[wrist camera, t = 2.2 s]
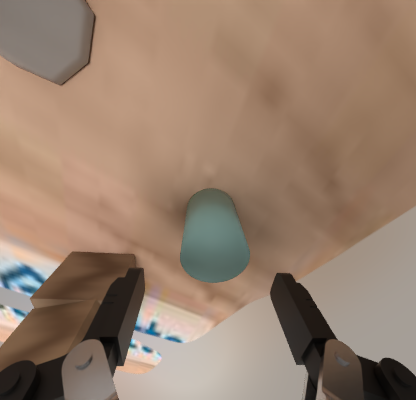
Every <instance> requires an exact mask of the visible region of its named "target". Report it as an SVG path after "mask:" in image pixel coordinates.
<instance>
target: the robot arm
mask: <svg viewBox="0 0 416 400" xmlns="http://www.w3.org/2000/svg"><path fill="white" fill-rule="evenodd" d="M144 291H145V281H144V269H143V268H129V269H128V271H127V273H126V276H125V277H118V278H117V279H116V280H115V281H114V282H113V283H112V284H111V285H110V287H109V289H108V291H107V293H106V296H105V297H104V299H103V301H102V304H101V305H100V307H99V309H98V311H97V313H96V315H95V317H94V319H93V321H92V323H91V325H90V327H89V329H88V331H87V333H86V335H85V337H84V338H83V340H82V341H81V342H80V343H79V344H78V345H77V346H75V347H74V348H73V349H72V350H71V351H70V352H69V353H67V354H65V355H64V356H61V357H59V358H56V359H53V360H50V361H47V362H44V363H41V364H38V365H35V364H34V362H32V361H30V360H22V361H18V362H16V363H13V364H11V365H10V366H8V367H6V368H5V369H3V370H2V371H1V372H0V400H119V398H118V395H117V392H116V389H115V385H114V382H113V376H114V373H115V369H116V366H124V362H125V359H126V355H127V352H128V348H129V345H130V342H131V338H132V335H133V331H134V328H135V324H136V321H137V317H138V314H139V311H140V307H141V304H142V300H143V297H144ZM270 296H271V300H272V303H273V306H274V308H275V311H276V313H277V316H278V318H279V321H280V324H281V326H282V329H283V331H284V334H285V337H286V339H287V342H288V344H289V347H290V349H291V352H292V355H293V357H294V360H295V362H296V365H305V367H306V369H307V372H306V377H305V382H304V389H303V396H302V400H416V376H415V375H414V374H413V373H412V372H411V371H410V370H409V369H408V368H406V367H405V366H404V365H402V364H401V363H399V362H398V361H396V360H394V359H391V358H383V359H382V360H381V361H380V362H379V363H377V362H374V361H372V360H368V359H366V358H363V357H360V356H358V355H356V354H355V353H354V352H353V351H352V349H350V348H349V347H348V346H347V345H346V344H344V343H343V342H341V341H338V340H337V338H336V337H335V335H334V333H333V332H332V330H331V329H330V327H329V325H328V324H327V322H326V320H325V319H324V317H323V315H322V314H321V312H320V310H319V309H318V308H317V305H316V304H315V302H314V301H313V299H312V297H311V296H310V294H309V293H308V291H307V290H306V289H305V288H304V287H303V286H302V285H301V284H300V283H296V281H295V279H294V278H293V276H292V275H291V274H290V273H277V274H276V276H275V279H274V282H273V284H272V287H271V291H270Z"/></svg>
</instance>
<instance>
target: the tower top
mask: <svg viewBox="0 0 416 400" xmlns="http://www.w3.org/2000/svg"><path fill="white" fill-rule="evenodd" d="M99 307H100V304H99V302H98V301H97V299H93V300H87V301H80V302H74V303H67V304H61V305H54V306H48V307H42V308H35V309H32V310H31V312H30V313H29V314H28V315H27V316H26V318H25V319H24V320H23V321H22V322H21V323H20V325H19V326H18V327H17V328H16V329H15V331H14V332H13V333H12V334H11V335H10V336H9V338H8V339H7V340H6V341H5V342H4V344H3V345H2V346H1V347H0V372H1V371H2V370H3V369H5V368H6V367H8V366H10V365H11V364H13V363H16V362H18V361H22V360H30V361H32V362H34V364H35V365H38V364H41V363H44V362H47V361H50V360H53V359H56V358H59V357H61V356H64V355H65V354H67V353H69V352H70V351H71V350H72V349H73V348H74V347H75V346H77V345H78V344H79V343H80V342H81V341H82V340H83V338H84V337H85V335H86V333H87V331H88V329H89V327H90V325H91V323H92V321H93V319H94V317H95V315H96V313H97V311H98V309H99Z"/></svg>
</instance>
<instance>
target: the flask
mask: <svg viewBox="0 0 416 400" xmlns="http://www.w3.org/2000/svg"><path fill="white" fill-rule="evenodd" d="M93 21H94V14H93V12H92V11H91V9H90V8H89V6H88V4H87V3H86V1H85V0H0V55H1V56H2V57H3V58H5V59H6V60H8V61H9V62H11V63H12V64H14V65H16V66H17V67H19V68H21V69H24V70H26V71H28V72H31V73H33V74H35V75H37V76H40V77H42V78H44V79H47V80H49V81H51V82H53V83H56V84H58V85H61V84H62V83H64V82H65V81H66V80H67V79H69V78H70V77H71V76H72V75H74V74H75V73H76V72H77V71H78V70H80V69H81V68H82V67H83V66H85V65H86V64H87V63H88V59H89V51H90V44H91V36H92V28H93Z"/></svg>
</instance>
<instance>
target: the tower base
mask: <svg viewBox="0 0 416 400" xmlns="http://www.w3.org/2000/svg"><path fill="white" fill-rule="evenodd" d="M129 268H136V265H135V256H134V254H114V253H93V252H72V253H71V254H70V255H69V256H68V257H67V258H66V259H65V260H64V261H63V262H62V264H61V265H60V266H59V267H58V268H57V269H56V270H55V271H54V272H53V273H52V275H51V276H50V277H49V278H48V279H47V280H46V281H45V282H44V283H43V284H42V286H41V287H40V288H39V289H38V290H37V291H36V292H35V293H34V294H33V296H32V297H31V298H30V300H31V302H32V304H33V306H34V308H42V307H48V306H54V305H61V304H67V303H74V302H80V301H87V300H93V299H97V301H98V302H99V304H100V305H101V304H102V301H103V299H104V297H105V296H106V293H107V291H108V289H109V287H110V285H111V284H112V283H113V282H114V281H115V280H116V279H117V278H118V277H125V276H126V273H127V271H128V269H129Z"/></svg>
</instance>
